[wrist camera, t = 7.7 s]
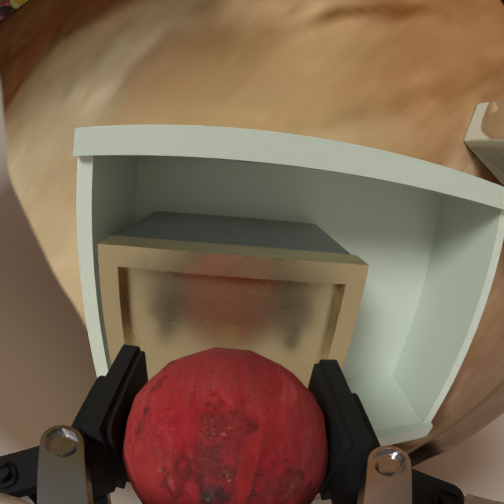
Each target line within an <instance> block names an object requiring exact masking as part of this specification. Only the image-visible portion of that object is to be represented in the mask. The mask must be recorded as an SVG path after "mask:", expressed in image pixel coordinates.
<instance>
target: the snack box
mask: <svg viewBox="0 0 504 504" xmlns="http://www.w3.org/2000/svg"><path fill="white" fill-rule="evenodd" d="M27 1H28V0H0V22H1V21H3V20H4V19H5V18H6V17H8V16H9V15H10V14H11V13H13V12H14V11H15V10H16V9H18V8H19V7H20V6H22V5H23V4H24V3H26V2H27Z"/></svg>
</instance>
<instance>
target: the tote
mask: <svg viewBox="0 0 504 504" xmlns="http://www.w3.org/2000/svg"><path fill="white" fill-rule="evenodd" d="M73 156H78V161H77V191H76V210H77V240H78V256H79V269H80V279H81V288H82V296H83V304H84V311H85V318H86V324H87V330H88V336H89V341H90V346H91V351H92V356H93V361H94V365H95V370H96V374H97V378H98V377H99V376H101V375H102V376H106V374H107V373H108V371H109V369H110V367H111V361H110V355H109V350H108V343H107V337H106V330H105V323H104V315H103V307H102V298H101V288H100V276H99V262H98V243H99V242H101V241H102V240H104V239H106V238H107V237H109V236H110V235H114V236H117V235H118V234H120V233H121V232H123V231H124V230H126V229H128V228H129V227H131V226H132V225H134V224H135V223H137V222H139V221H140V220H142V219H143V218H145V217H147V216H148V215H150V214H152V213H153V212H155V211H164V212H179V213H194V214H207V215H220V216H233V217H245V218H256V219H268V220H278V221H289V222H299V223H309V224H316V225H317V226H318V227H319V228H321V229H322V230H323V231H324V232H325V233H327V234H328V235H329V236H330V237H331V238H333V239H334V240H335V241H336V242H337V243H338V244H340V245H341V246H342V247H343V248H344V249H345V250H347V251H348V252H349V253H350V254H351V255H357V256H359V257H360V258H361V259H362V260H363V261H365V262H366V263H367V264H368V265H369V269H368V273H367V278H366V283H365V287H364V291H363V295H362V300H361V304H360V308H359V312H358V316H357V319H356V323H355V327H354V331H353V334H352V338H351V341H350V345H349V348H348V352H347V355H346V358H345V362H344V365H343V368H342V373H343V375H344V377H345V379H346V381H347V384H348V386H349V388H350V390H351V393H356V394H357V395H358V396H359V398H360V401H361V403H362V405H363V407H364V409H365V412H366V414H367V416H368V418H369V420H370V423H371V425H372V427H373V429H374V432H375V434H376V436H377V438H378V441H379V443H380V445H381V446H387V445H392V444H397V443H401V442H406V441H410V440H414V439H418V438H422V437H426V436H427V435H428V433H429V432H430V430H431V429H432V427H433V425H432V423H431V421H432V419H433V417H434V416H435V414H436V412H437V411H438V409H439V407H440V405H441V404H442V402H443V400H444V398H445V396H446V394H447V393H448V391H449V389H450V387H451V385H452V383H453V381H454V379H455V377H456V375H457V373H458V371H459V369H460V367H461V364H462V362H463V360H464V358H465V356H466V353H467V351H468V349H469V346H470V344H471V342H472V339H473V337H474V334H475V332H476V329H477V327H478V324H479V321H480V319H481V316H482V313H483V310H484V307H485V304H486V301H487V298H488V295H489V292H490V289H491V286H492V282H493V279H494V275H495V272H496V268H497V264H498V260H499V256H500V252H501V248H502V243H503V239H504V187H503V186H500V185H498V184H495V183H492V182H490V181H487V180H484V179H481V178H478V177H475V176H473V175H470V174H467V173H463V172H460V171H457V170H454V169H451V168H448V167H444V166H441V165H438V164H434V163H431V162H427V161H423V160H420V159H416V158H412V157H408V156H404V155H400V154H396V153H392V152H388V151H384V150H379V149H375V148H370V147H365V146H360V145H355V144H350V143H345V142H340V141H334V140H328V139H322V138H316V137H310V136H303V135H296V134H288V133H281V132H272V131H263V130H254V129H243V128H230V127H216V126H197V125H110V126H92V127H78V128H75V132H74V144H73Z"/></svg>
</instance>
